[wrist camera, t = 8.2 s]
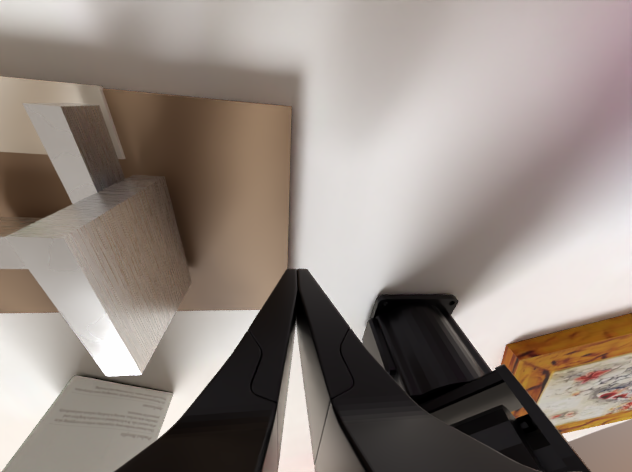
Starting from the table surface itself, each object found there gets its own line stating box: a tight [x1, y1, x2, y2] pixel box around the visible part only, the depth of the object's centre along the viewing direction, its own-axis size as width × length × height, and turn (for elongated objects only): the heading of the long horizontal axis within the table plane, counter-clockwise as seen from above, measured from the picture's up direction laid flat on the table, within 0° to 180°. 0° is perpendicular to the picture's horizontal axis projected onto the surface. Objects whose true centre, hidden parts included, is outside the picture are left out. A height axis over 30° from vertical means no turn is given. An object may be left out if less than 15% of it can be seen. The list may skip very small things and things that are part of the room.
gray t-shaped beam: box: [0, 103, 192, 376], centre depth 8 cm, size 8×8×5 cm
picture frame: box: [501, 313, 632, 434], centre depth 28 cm, size 27×2×30 cm
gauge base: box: [0, 76, 292, 313], centre depth 9 cm, size 22×12×6 cm, turn 85°
